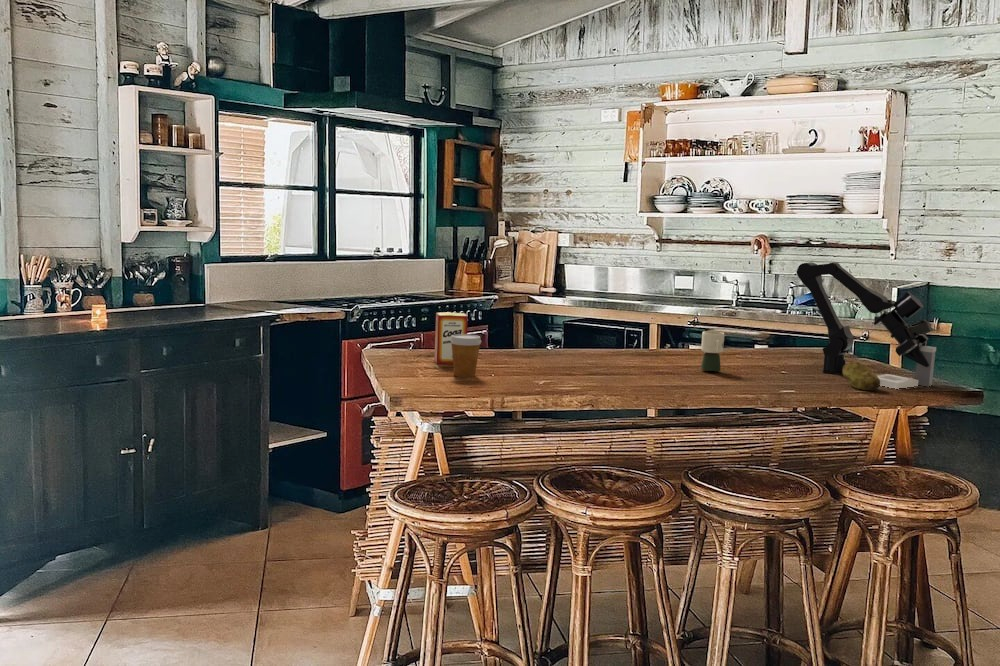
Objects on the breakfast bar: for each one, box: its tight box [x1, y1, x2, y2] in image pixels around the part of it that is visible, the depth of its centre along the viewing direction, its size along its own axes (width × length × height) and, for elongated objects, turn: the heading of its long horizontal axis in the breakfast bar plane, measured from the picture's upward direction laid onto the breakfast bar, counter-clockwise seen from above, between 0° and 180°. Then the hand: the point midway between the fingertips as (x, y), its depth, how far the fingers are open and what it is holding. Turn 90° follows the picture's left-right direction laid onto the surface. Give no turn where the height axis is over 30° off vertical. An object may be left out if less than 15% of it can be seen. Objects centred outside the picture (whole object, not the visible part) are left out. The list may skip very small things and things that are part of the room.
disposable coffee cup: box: [450, 333, 482, 378], centre depth 297 cm, size 10×10×12 cm
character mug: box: [700, 330, 725, 373], centre depth 322 cm, size 11×7×13 cm, turn 7°
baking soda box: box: [434, 311, 469, 365], centre depth 318 cm, size 10×6×16 cm
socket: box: [876, 373, 919, 390], centre depth 312 cm, size 11×11×3 cm
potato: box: [842, 360, 880, 392], centre depth 305 cm, size 8×13×8 cm, turn 7°
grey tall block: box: [914, 345, 937, 388], centre depth 313 cm, size 5×5×12 cm
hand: (929, 365), depth 313 cm, fingers closed on grey tall block, 4 cm apart
